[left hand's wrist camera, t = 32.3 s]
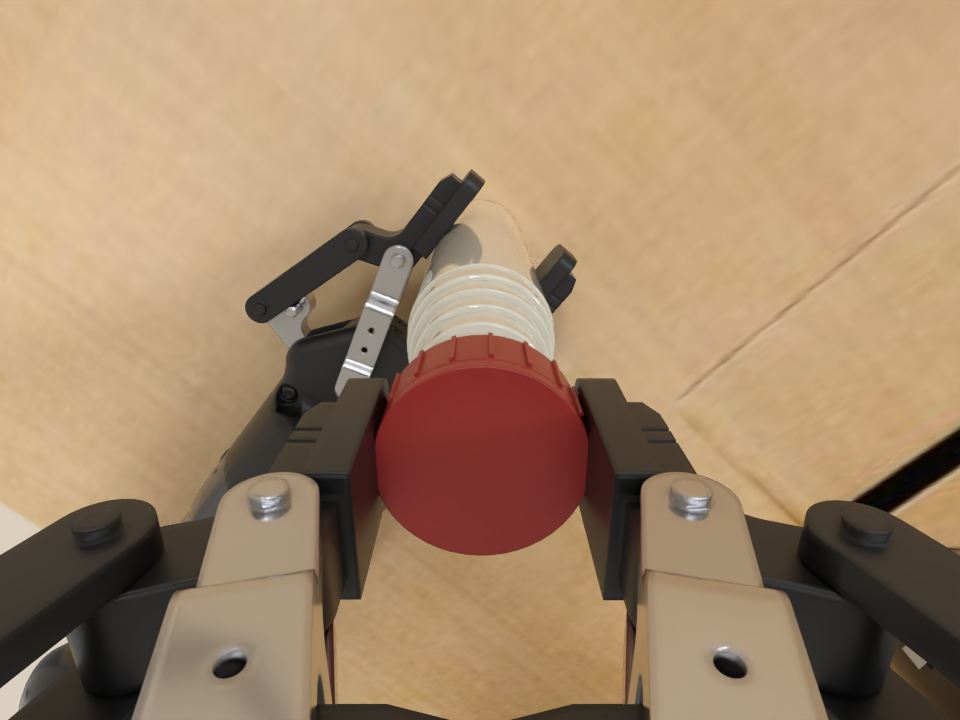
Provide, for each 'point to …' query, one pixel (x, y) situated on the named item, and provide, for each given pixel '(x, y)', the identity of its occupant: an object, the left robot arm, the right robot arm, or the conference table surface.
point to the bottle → (481, 286)
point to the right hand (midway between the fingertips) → (522, 216)
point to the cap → (481, 446)
